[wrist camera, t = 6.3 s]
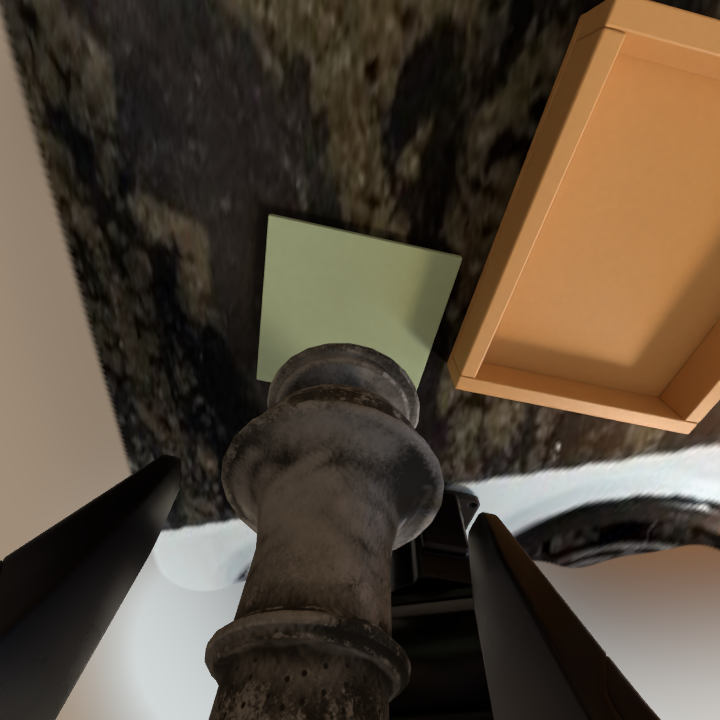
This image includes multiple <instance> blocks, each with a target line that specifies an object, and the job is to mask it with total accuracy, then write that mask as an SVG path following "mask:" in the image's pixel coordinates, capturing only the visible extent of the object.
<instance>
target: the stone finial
mask: <svg viewBox="0 0 720 720" xmlns="http://www.w3.org/2000/svg"><path fill="white" fill-rule="evenodd" d="M267 406H268V410H267V411H266V412H265V413H264V414H262V415H260V416H258V417H256V418H254V419H252V420H251V421H250V422H249V423H248V424H247V425H246V426H245V427H244V428H243V429H242V430H241V431H240V432H238V433H237V434H236V435H235V436H234V438H233V440H232V442H231V444H230V446H229V448H228V450H227V452H226V454H225V456H224V458H223V464H222V476H221V480H222V484H223V487H224V490H225V494H226V497H227V500H228V502H229V503H230V505H231V506H232V508H233V509H234V511H235V512H236V514H237V515H238V516H239V518H240V519H241V520H242V521H243V522H244V523H245V524H246V525H248V526H249V527H250V528H251V529H252V530H253V531H254V532H255V533H257V543H256V550H255V554H254V557H253V560H252V563H251V567H250V570H249V573H248V576H247V579H246V583H245V586H244V589H243V593H242V596H241V599H240V602H239V605H238V609H237V612H236V615H235V618H234V621H233V622H231V623H229V624H228V625H226V626H224V627H223V628H221V629H219V630H218V631H216V633H215V634H214V635H213V637H212V638H211V639H210V641H209V642H208V644H207V648H206V652H205V663H206V665H207V667H208V669H209V672H210V673H211V676H212V677H213V678H214V679H215V680H216V681H217V683H218V685H219V687H218V690H217V694H216V697H215V700H214V704H213V707H212V711H211V714H210V717H209V720H389V702H391V701H392V699H393V698H395V697H396V696H398V695H399V694H400V693H401V692H402V691H403V689H404V688H405V687H406V685H407V684H408V683H409V680H410V673H411V663H410V661H409V659H408V657H407V654H406V652H405V650H404V649H403V648H402V647H401V646H400V645H399V644H398V643H397V642H396V641H395V640H394V639H392V624H391V587H390V561H391V555H392V550H395V549H397V548H399V547H401V546H402V545H404V544H406V543H408V542H410V541H411V540H413V539H415V538H416V537H417V536H418V535H419V534H420V533H421V532H422V531H423V530H424V529H425V528H427V527H428V526H429V525H430V524H431V523H432V521H433V519H434V517H435V516H436V514H437V512H438V510H439V508H440V506H441V505H442V498H443V490H444V481H443V477H442V472H441V468H440V464H439V460H438V459H437V457H436V456H435V454H434V453H433V451H432V450H431V448H430V447H429V445H428V444H427V442H426V441H425V440H424V439H423V438H422V437H421V436H420V435H419V434H418V433H417V431H416V430H415V428H416V426H417V423H418V420H419V408H420V404H419V399H418V396H417V392H416V388H415V385H414V384H413V382H412V381H411V379H410V377H409V376H408V374H407V373H406V371H405V370H404V369H403V368H402V367H400V366H399V365H398V364H397V363H396V362H395V361H394V360H393V359H391V358H390V357H388V356H386V355H384V354H382V353H380V352H378V351H376V350H374V349H373V348H369V347H365V346H361V345H356V344H352V343H327V344H323V345H319V346H314V347H310V348H307V349H305V350H304V351H302V352H300V353H298V354H296V355H294V356H292V357H291V358H290V359H289V360H288V361H287V362H286V363H285V364H284V365H283V366H282V367H281V368H280V369H279V370H278V371H277V373H276V375H275V377H274V379H273V381H272V383H271V385H270V387H269V392H268V399H267Z"/></svg>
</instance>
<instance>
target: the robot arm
mask: <svg viewBox="0 0 720 720" xmlns="http://www.w3.org/2000/svg"><path fill="white" fill-rule="evenodd" d="M181 481H182V475H181V460H180V458H179V457H175V456H169V455H162V456H160V457H159V458H157V459H155V460H154V461H152V462H151V463H149V464H148V465H146V466H145V467H143V468H142V469H140V470H139V471H137V472H135V473H134V474H132V475H131V476H129V477H128V478H126V479H125V480H123V481H122V482H120V483H119V484H117V485H115V486H114V487H113V488H111V489H110V490H108V491H106V492H105V493H103V494H102V495H100V496H99V497H97V498H95V499H94V500H92V501H91V502H89V503H88V504H86V505H85V506H83V507H82V508H80V509H79V510H77V511H75V512H74V513H73V514H71V515H69V516H68V517H66V518H65V519H63V520H62V521H60V522H59V523H57V524H55V525H54V526H52V527H51V528H49V529H48V530H46V531H45V532H43V533H42V534H40V535H39V536H37V537H35V538H34V539H32V540H31V541H29V542H28V543H26V544H25V545H23V546H22V547H20V548H19V549H17V550H15V551H14V552H13V553H11V554H10V555H8V556H6V557H5V558H4V560H3V561H0V720H55V719H56V718H57V716H58V714H59V712H60V710H61V709H62V707H63V705H64V704H65V702H66V700H67V698H68V696H69V695H70V693H71V691H72V689H73V688H74V686H75V684H76V682H77V681H78V679H79V677H80V675H81V674H82V672H83V670H84V668H85V667H86V665H87V663H88V661H89V660H90V658H91V656H92V654H93V653H94V650H95V649H96V647H97V646H98V644H99V642H100V640H101V639H102V637H103V635H104V633H105V632H106V630H107V628H108V626H109V625H110V623H111V621H112V619H113V618H114V616H115V614H116V612H117V611H118V609H119V607H120V605H121V604H122V602H123V600H124V598H125V597H126V595H127V593H128V591H129V589H130V588H131V586H132V584H133V583H134V581H135V579H136V577H137V576H138V573H139V572H140V570H141V569H142V567H143V565H144V563H145V562H146V560H147V558H148V556H149V554H150V553H151V551H152V549H153V547H154V545H155V543H156V541H157V538H158V536H159V534H160V532H161V529H162V527H163V525H164V523H165V520H166V518H167V516H168V513H169V511H170V509H171V507H172V504H173V502H174V500H175V498H176V495H177V493H178V491H179V488H180V486H181ZM479 506H480V503H479V500H478V497H477V496H474V495H469V494H464V493H458V492H452V491H447V490H443V498H442V505H441V506H440V508H439V510H438V512H437V514H436V516H435V517H434V519H433V521H432V523H431V524H430V525H429V526H428V527H427V528H425V529H424V530H423V531H422V532H421V533H420V534H419V535H418V536H417V537H416V538H415V539H413V540H411V541H410V542H408V543H406V544H404V545H402V546H401V547H399V548H397V549H395V550H392V555H391V561H390V587H391V624H392V639H394V640H395V641H396V642H397V643H398V644H399V645H400V646H401V647H402V648H403V649H404V650H405V652H406V654H407V657H408V659H409V661H410V663H411V673H410V680H409V683H408V684H407V685H406V687H405V688H404V689H403V691H402V692H401V693H400V694H399V695H398V696H396V697H395V698H393V699H392V701H391V702H389V720H660V718H659V717H658V716H657V715H656V714H655V712H654V711H653V710H652V709H651V708H650V707H649V706H648V704H647V703H646V702H645V701H644V700H643V698H641V696H640V695H639V693H638V692H637V691H636V690H635V689H634V687H633V686H632V685H631V684H630V682H629V681H628V680H627V679H626V678H625V677H624V675H623V674H622V673H621V671H620V670H619V669H618V668H617V666H616V665H615V664H614V663H613V661H612V660H611V659H610V658H609V657H608V656H606V653H605V651H604V650H603V649H602V648H601V646H600V645H599V644H598V643H597V641H596V640H595V639H594V638H593V636H592V635H591V634H590V632H589V631H588V630H587V629H586V627H585V626H584V625H583V624H582V622H581V621H580V620H579V619H578V617H577V616H576V615H575V613H574V612H573V611H572V610H571V609H570V607H569V606H568V605H567V603H566V602H565V601H564V600H563V598H562V597H561V596H560V595H559V593H558V592H557V591H556V590H555V588H554V587H553V586H552V584H551V583H550V582H549V581H548V580H547V578H546V577H545V576H544V574H543V573H542V572H541V571H540V569H539V568H538V567H537V566H536V565H535V563H534V562H533V561H532V559H531V558H530V557H529V555H528V554H527V553H526V552H525V550H524V549H523V548H522V547H521V545H520V544H519V543H518V542H517V540H516V539H515V538H514V537H513V535H512V534H511V533H510V532H509V530H508V529H507V528H506V526H505V525H504V524H503V523H502V521H501V520H500V519H499V518H498V517H497V516H496V515H494V514H489V513H484V512H482V513H480V514H479V515H478V517H477V518H476V520H475V522H474V523H473V525H472V527H471V529H470V531H469V535H468V539H467V535H466V531H465V530H466V529H467V527H468V525H469V523H470V522H471V520H472V518H473V516H474V515H475V513H476V511H477V509H478V508H479Z"/></svg>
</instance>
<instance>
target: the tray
mask: <svg viewBox="0 0 720 720" xmlns="http://www.w3.org/2000/svg"><path fill="white" fill-rule="evenodd" d="M447 366H448V369H449V372H450V375H451V378H452V381H453V384H454V387H455V388H456V389H460V390H465V391H470V392H475V393H481V394H486V395H491V396H496V397H501V398H506V399H511V400H516V401H521V402H526V403H531V404H536V405H541V406H546V407H551V408H556V409H561V410H566V411H572V412H577V413H582V414H587V415H592V416H597V417H602V418H607V419H612V420H617V421H622V422H627V423H632V424H637V425H642V426H647V427H652V428H657V429H663V430H668V431H673V432H678V433H683V434H689V433H690V432H691V431H692V430H693V429H694V427H695V426H696V425H697V423H699V422H700V421H701V420H702V419H703V418H704V416H705V415H706V414H707V413H708V412H709V411H710V410H711V408H712V407H713V406H714V405H715V404H716V403H717V402H718V401H719V399H720V20H718V19H715V18H711V17H707V16H704V15H700V14H697V13H693V12H690V11H686V10H682V9H679V8H675V7H672V6H668V5H665V4H661V3H658V2H654V1H650V0H605V1H604V2H602V3H601V4H599V5H598V6H596V7H594V8H593V9H591V10H590V11H588V12H587V13H584V14H583V15H581V16H580V18H579V20H578V23H577V26H576V28H575V31H574V33H573V36H572V39H571V41H570V44H569V47H568V49H567V52H566V54H565V57H564V60H563V62H562V65H561V67H560V70H559V73H558V75H557V78H556V80H555V83H554V86H553V88H552V91H551V93H550V96H549V99H548V101H547V104H546V106H545V109H544V112H543V114H542V117H541V120H540V122H539V125H538V127H537V130H536V133H535V135H534V138H533V140H532V143H531V146H530V148H529V151H528V153H527V156H526V159H525V161H524V164H523V166H522V169H521V172H520V174H519V177H518V179H517V182H516V185H515V187H514V190H513V193H512V195H511V198H510V200H509V203H508V206H507V208H506V211H505V213H504V216H503V219H502V221H501V224H500V226H499V229H498V232H497V234H496V237H495V239H494V242H493V245H492V247H491V250H490V252H489V255H488V258H487V260H486V263H485V266H484V268H483V271H482V273H481V276H480V279H479V281H478V284H477V286H476V289H475V292H474V294H473V297H472V299H471V302H470V305H469V307H468V310H467V312H466V315H465V318H464V320H463V323H462V325H461V328H460V331H459V333H458V336H457V339H456V341H455V344H454V346H453V349H452V352H451V354H450V357H449V359H448V362H447Z"/></svg>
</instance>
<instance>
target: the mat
mask: <svg viewBox="0 0 720 720" xmlns="http://www.w3.org/2000/svg"><path fill="white" fill-rule="evenodd" d="M461 261H462V257H461V256H459V255H455V254H450V253H446V252H441V251H437V250H432V249H428V248H423V247H419V246H414V245H410V244H405V243H401V242H396V241H392V240H388V239H383V238H379V237H374V236H370V235H365V234H361V233H356V232H352V231H347V230H343V229H338V228H334V227H329V226H325V225H320V224H316V223H311V222H307V221H302V220H298V219H293V218H289V217H284V216H280V215H275V214H269V215H268V228H267V241H266V255H265V269H264V282H263V296H262V310H261V324H260V337H259V351H258V365H257V380H261V381H266V382H272V381H273V379H274V377H275V375H276V373H277V371H278V370H279V369H280V368H281V367H282V366H283V365H284V364H285V363H286V362H287V361H288V360H289V359H290V358H291V357H292V356H294V355H296V354H298V353H300V352H302V351H304V350H305V349H307V348H310V347H314V346H319V345H323V344H327V343H352V344H356V345H361V346H365V347H369V348H373V349H374V350H376V351H378V352H380V353H382V354H384V355H386V356H388V357H390V358H391V359H393V360H394V361H395V362H396V363H397V364H398V365H399V366H400V367H402V368H403V369H404V370H405V371H406V373H407V374H408V376H409V377H410V379H411V381H412V382H413V384H414V385H415V388H416V390H417V388H418V385H419V382H420V379H421V376H422V373H423V370H424V367H425V365H426V362H427V359H428V356H429V353H430V350H431V347H432V345H433V342H434V339H435V336H436V333H437V330H438V327H439V325H440V322H441V319H442V316H443V313H444V310H445V307H446V304H447V302H448V299H449V296H450V293H451V290H452V287H453V284H454V282H455V279H456V276H457V273H458V270H459V267H460V264H461Z"/></svg>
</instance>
